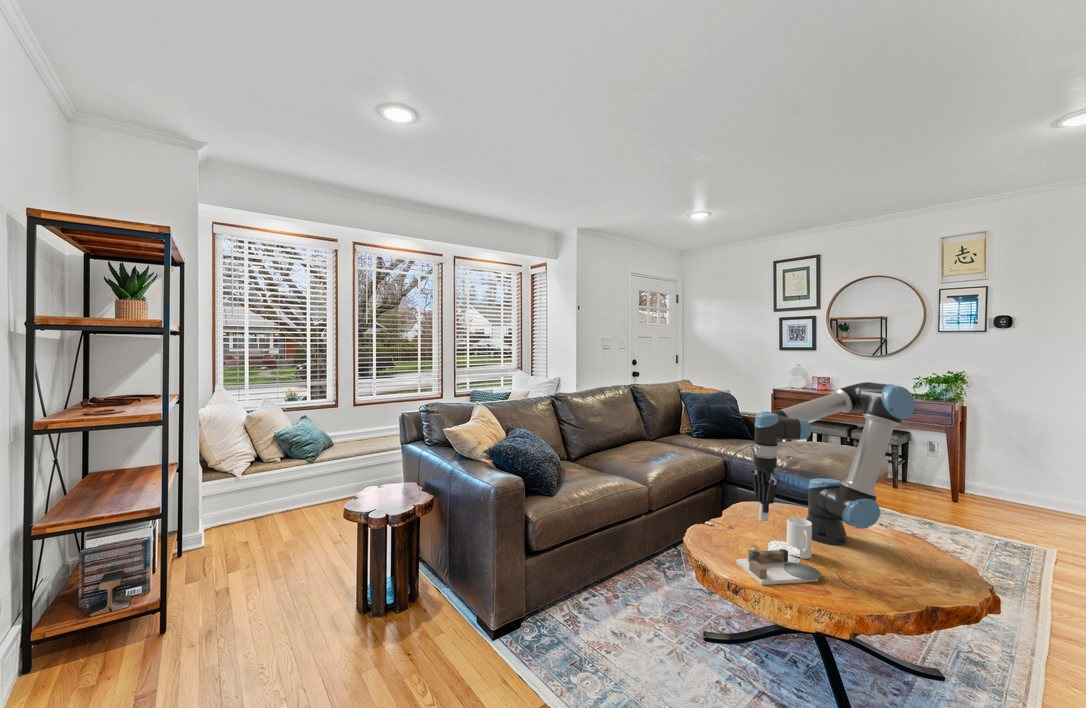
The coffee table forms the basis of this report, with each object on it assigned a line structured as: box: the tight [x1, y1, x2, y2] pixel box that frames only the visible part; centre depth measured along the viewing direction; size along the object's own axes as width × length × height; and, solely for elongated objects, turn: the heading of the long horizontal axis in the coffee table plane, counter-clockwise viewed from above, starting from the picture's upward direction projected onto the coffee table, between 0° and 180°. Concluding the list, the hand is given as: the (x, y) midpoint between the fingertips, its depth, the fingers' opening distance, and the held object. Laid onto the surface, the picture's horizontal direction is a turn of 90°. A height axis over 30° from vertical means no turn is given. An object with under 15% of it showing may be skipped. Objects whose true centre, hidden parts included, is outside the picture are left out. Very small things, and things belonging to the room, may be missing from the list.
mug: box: [786, 517, 813, 560], centre depth 170 cm, size 12×8×12 cm
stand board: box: [735, 547, 822, 586], centre depth 157 cm, size 23×16×6 cm
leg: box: [747, 548, 789, 563], centre depth 162 cm, size 14×4×3 cm, turn 98°
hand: (763, 520), depth 169 cm, fingers closed
